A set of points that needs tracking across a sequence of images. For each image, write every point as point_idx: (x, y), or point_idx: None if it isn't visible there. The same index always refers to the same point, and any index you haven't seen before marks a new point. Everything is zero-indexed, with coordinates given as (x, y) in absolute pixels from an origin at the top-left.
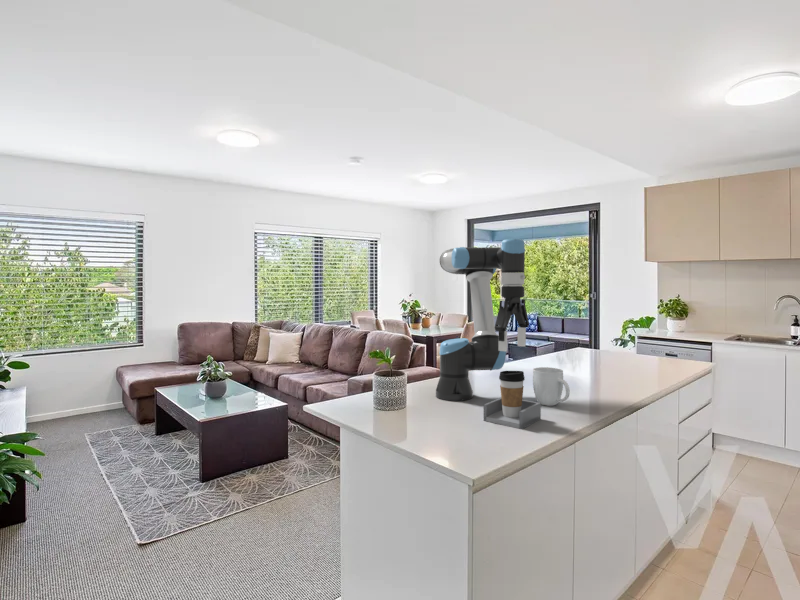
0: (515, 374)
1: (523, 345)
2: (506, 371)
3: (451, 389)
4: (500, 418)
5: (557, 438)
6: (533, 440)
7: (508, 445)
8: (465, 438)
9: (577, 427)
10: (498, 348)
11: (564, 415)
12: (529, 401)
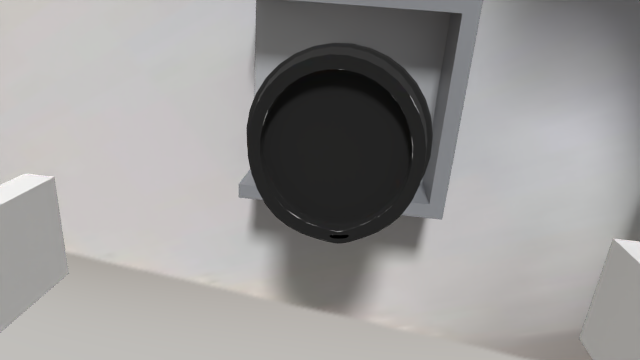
0: (268, 206)
1: (590, 333)
2: (382, 86)
3: None
4: (273, 69)
5: (241, 292)
6: (173, 238)
7: (76, 188)
8: (21, 32)
9: (396, 321)
10: (3, 183)
11: (537, 254)
12: (442, 165)
